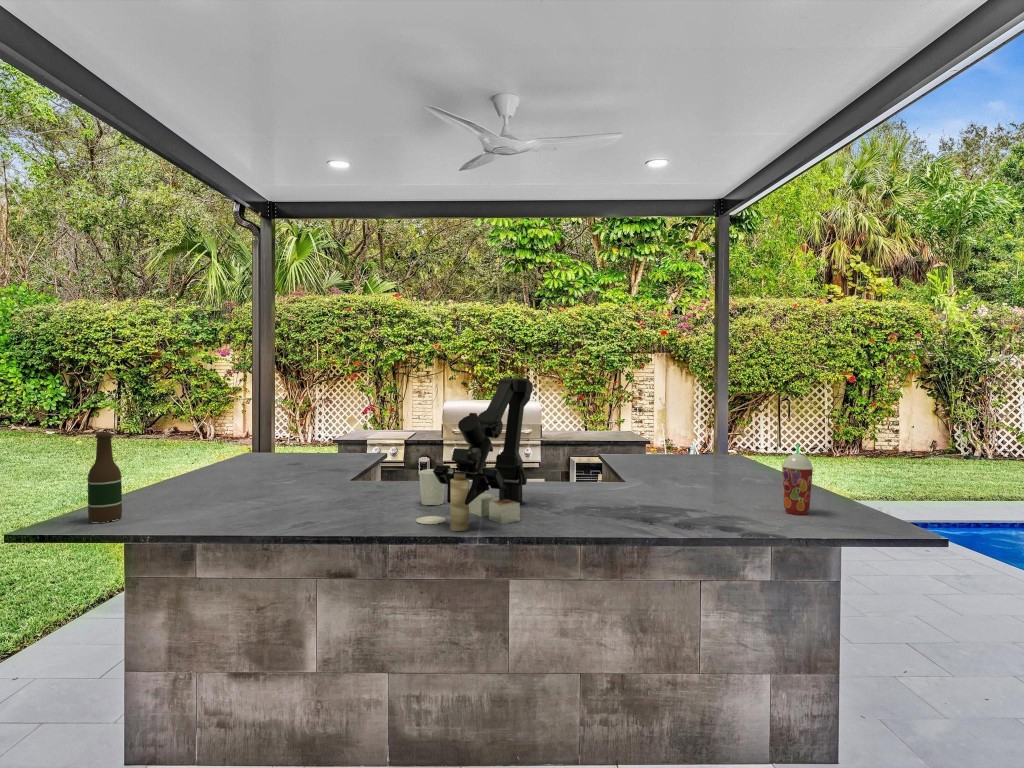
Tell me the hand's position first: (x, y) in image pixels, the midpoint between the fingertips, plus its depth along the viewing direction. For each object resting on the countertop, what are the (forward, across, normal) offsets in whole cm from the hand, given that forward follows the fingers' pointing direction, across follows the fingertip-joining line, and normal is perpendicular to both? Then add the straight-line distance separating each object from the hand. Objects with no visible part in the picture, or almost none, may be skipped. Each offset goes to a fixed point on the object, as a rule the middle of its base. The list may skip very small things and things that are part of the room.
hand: (457, 503), depth 160 cm
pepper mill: (+4, 0, +6) cm, 7 cm away
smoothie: (-36, +80, +47) cm, 100 cm away
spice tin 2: (-5, +7, +16) cm, 18 cm away
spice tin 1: (-9, -2, +19) cm, 21 cm away
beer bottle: (+27, -92, -17) cm, 98 cm away
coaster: (+1, -11, +9) cm, 15 cm away
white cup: (-12, -22, +23) cm, 34 cm away
